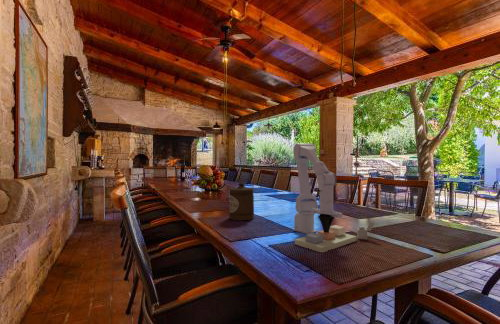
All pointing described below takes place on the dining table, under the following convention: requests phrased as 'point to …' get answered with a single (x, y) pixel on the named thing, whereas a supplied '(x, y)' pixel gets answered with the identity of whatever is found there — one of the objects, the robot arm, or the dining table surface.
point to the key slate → (314, 238)
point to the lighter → (364, 231)
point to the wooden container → (241, 203)
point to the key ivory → (337, 230)
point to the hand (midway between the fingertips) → (326, 231)
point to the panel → (327, 242)
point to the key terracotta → (327, 235)
